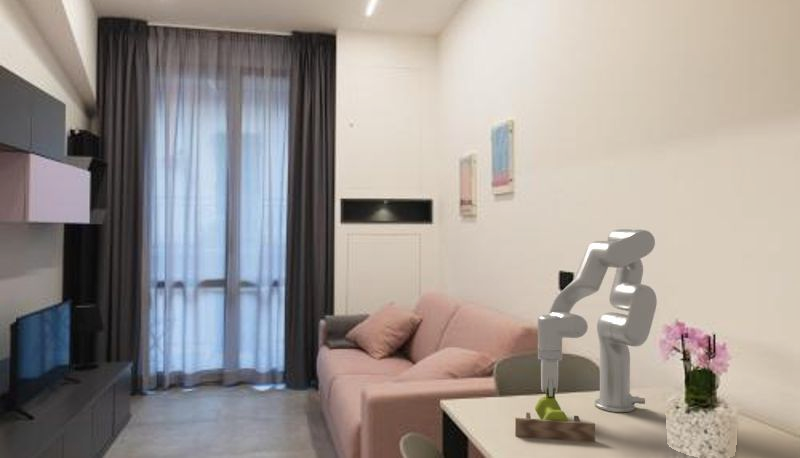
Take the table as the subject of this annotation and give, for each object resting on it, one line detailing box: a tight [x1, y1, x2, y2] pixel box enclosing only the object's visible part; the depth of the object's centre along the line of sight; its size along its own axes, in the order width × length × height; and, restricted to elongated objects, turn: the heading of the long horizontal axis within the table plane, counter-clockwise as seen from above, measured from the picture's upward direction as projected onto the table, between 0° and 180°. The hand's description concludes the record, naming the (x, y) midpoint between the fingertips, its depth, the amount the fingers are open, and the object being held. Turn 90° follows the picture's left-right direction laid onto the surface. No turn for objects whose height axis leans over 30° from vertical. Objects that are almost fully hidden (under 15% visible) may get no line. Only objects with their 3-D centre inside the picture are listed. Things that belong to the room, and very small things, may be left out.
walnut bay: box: [514, 412, 596, 443], centre depth 170 cm, size 22×11×5 cm, turn 79°
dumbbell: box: [534, 396, 570, 421], centre depth 173 cm, size 16×8×7 cm, turn 175°
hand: (550, 411), depth 184 cm, fingers closed
